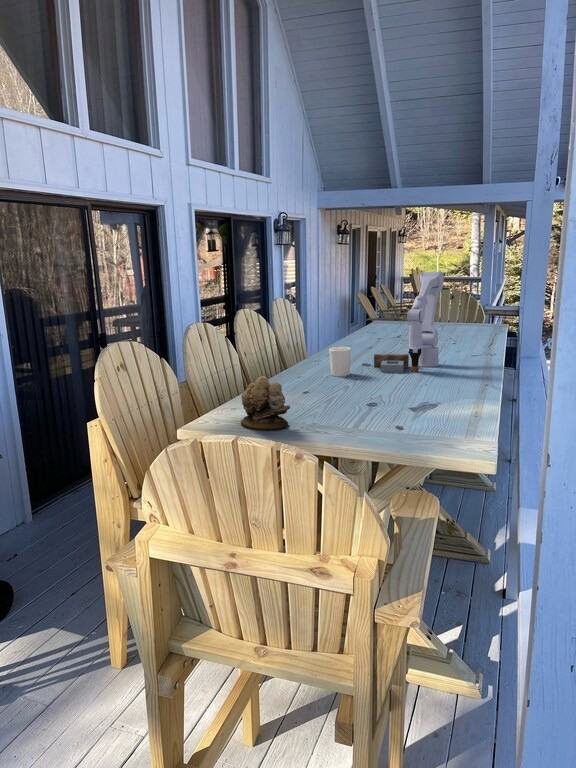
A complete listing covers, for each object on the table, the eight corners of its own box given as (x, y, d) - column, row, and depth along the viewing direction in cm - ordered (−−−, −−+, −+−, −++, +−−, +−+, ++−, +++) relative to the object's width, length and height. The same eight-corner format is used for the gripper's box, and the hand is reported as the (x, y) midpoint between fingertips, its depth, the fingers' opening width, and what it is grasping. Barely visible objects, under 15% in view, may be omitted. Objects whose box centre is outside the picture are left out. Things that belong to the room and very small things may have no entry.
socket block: (403, 368, 257) (403, 360, 256) (403, 373, 247) (403, 364, 246) (382, 368, 259) (382, 360, 258) (380, 373, 250) (380, 364, 249)
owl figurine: (297, 422, 184) (295, 373, 179) (282, 434, 173) (280, 382, 169) (250, 417, 191) (248, 369, 187) (233, 427, 181) (230, 377, 177)
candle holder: (343, 378, 242) (343, 351, 239) (325, 375, 248) (324, 349, 245) (355, 373, 249) (354, 347, 246) (336, 371, 255) (336, 346, 252)
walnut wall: (408, 366, 259) (408, 354, 258) (408, 368, 256) (408, 355, 255) (374, 366, 263) (374, 354, 261) (373, 367, 260) (373, 355, 258)
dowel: (418, 370, 250) (418, 353, 248) (418, 372, 247) (418, 355, 245) (411, 370, 250) (411, 353, 248) (411, 372, 247) (411, 355, 245)
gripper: (406, 333, 252) (406, 362, 256) (406, 338, 239) (405, 368, 242) (422, 333, 251) (421, 362, 254) (422, 338, 237) (421, 369, 240)
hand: (414, 365), depth 248 cm, fingers closed on dowel, 3 cm apart
